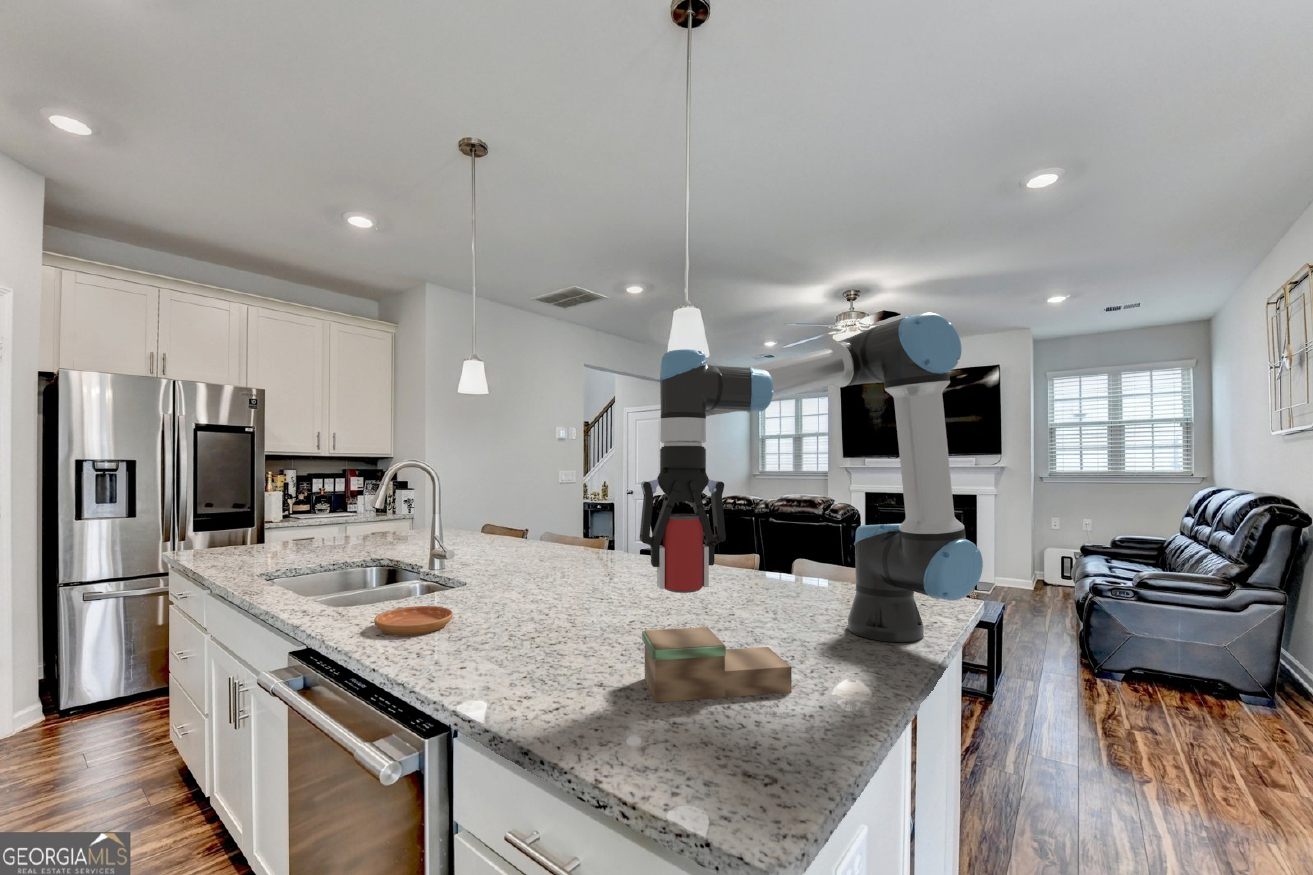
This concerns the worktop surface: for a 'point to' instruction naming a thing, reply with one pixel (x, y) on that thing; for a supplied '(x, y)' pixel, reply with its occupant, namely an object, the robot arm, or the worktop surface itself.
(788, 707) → the worktop surface
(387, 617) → the saucer
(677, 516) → the beer can
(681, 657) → the step stand
